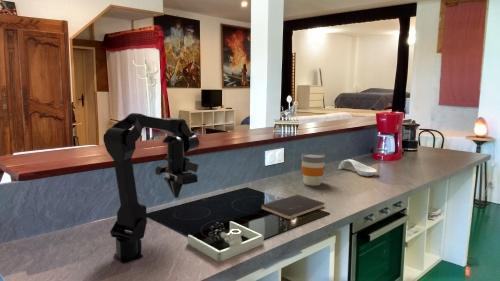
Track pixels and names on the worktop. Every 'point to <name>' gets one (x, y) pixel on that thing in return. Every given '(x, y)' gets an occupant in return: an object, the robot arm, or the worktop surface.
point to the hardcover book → (292, 206)
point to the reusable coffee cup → (312, 168)
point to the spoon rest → (359, 168)
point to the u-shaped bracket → (224, 254)
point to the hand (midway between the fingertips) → (176, 197)
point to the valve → (226, 235)
